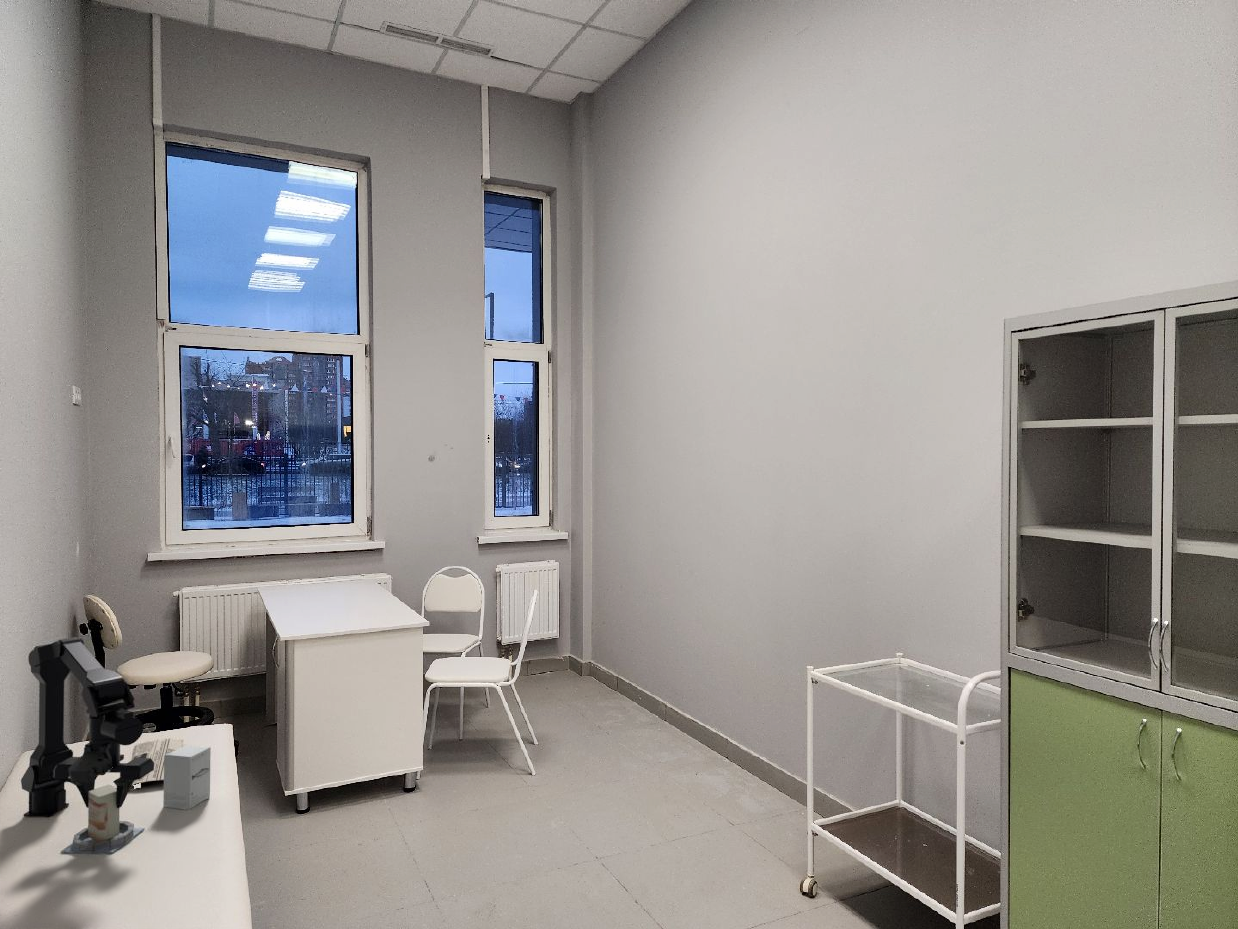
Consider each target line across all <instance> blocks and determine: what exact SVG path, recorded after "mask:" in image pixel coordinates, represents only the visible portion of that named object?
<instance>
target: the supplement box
mask: <svg viewBox="0 0 1238 929" xmlns="http://www.w3.org/2000/svg"><path fill="white" fill-rule="evenodd" d="M211 751H212V750H211V746H201V745H187V744H185V745H183V746H182V747H181V748H179V749H177V750H175V751H173V752H171V753H168V754H166V755H164V779H163V800H162V801H163V802H162V803H163V804H162V805H163V807H164V808H170V809H176V810H177V809H178V810H191V809H192V808H194V807H195V806H197V805H198V804H200V803H202V802H204V801H205V800H207V799H209V798H210V797H211V753H212V752H211Z"/></svg>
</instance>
